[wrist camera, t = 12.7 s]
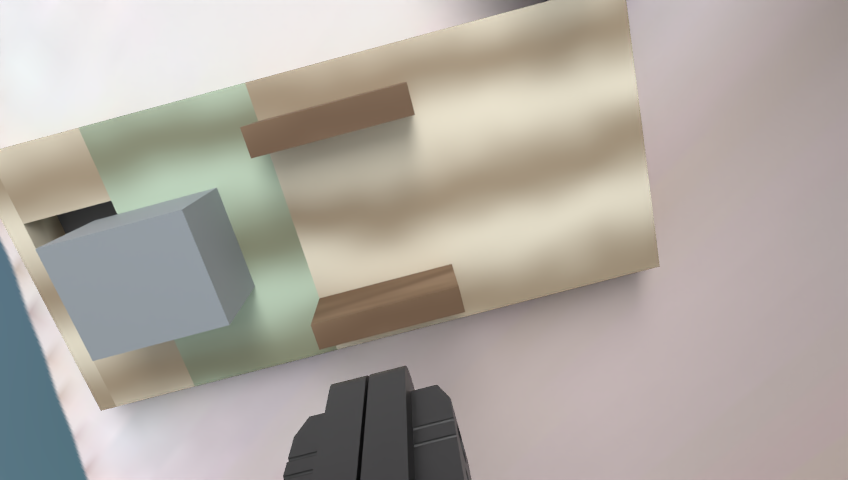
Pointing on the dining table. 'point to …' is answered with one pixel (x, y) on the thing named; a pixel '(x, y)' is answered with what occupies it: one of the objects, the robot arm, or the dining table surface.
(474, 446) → the dining table surface
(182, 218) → the grey block
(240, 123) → the tunnel deck
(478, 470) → the dining table surface
